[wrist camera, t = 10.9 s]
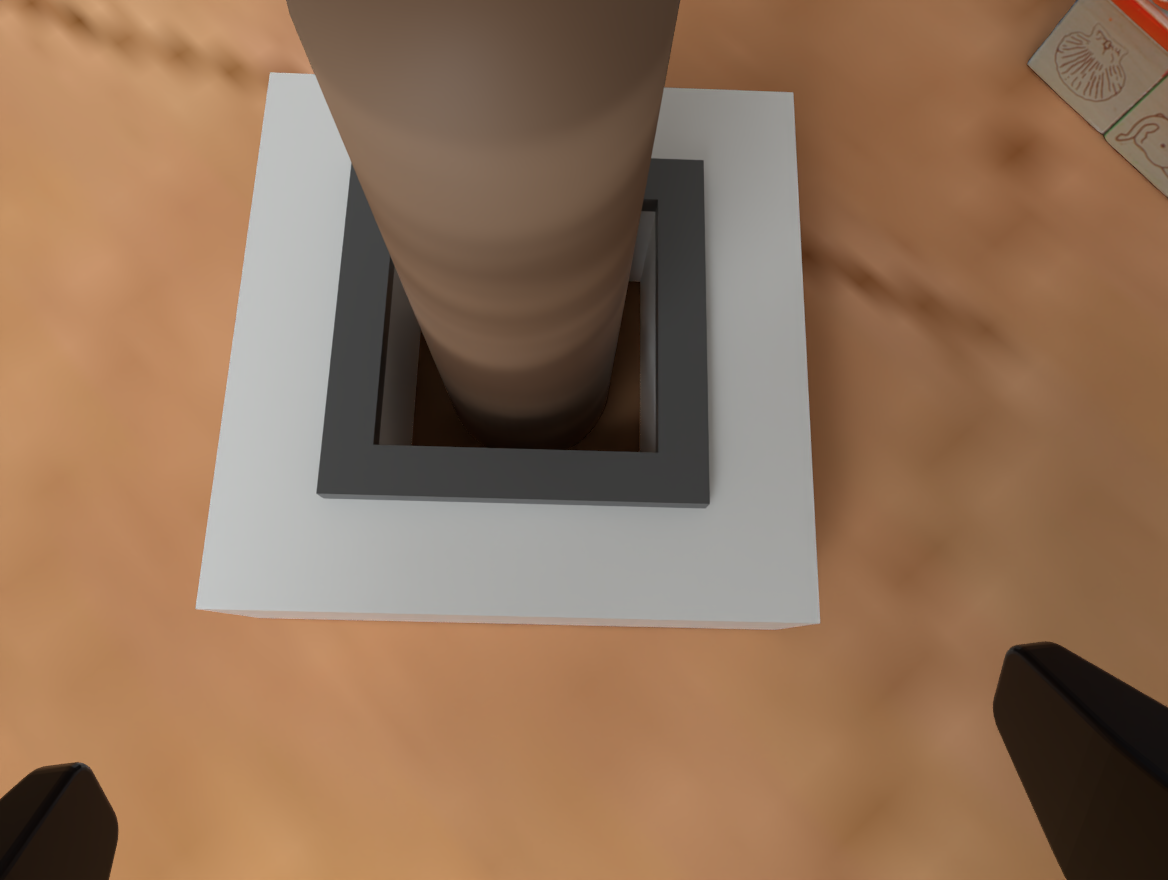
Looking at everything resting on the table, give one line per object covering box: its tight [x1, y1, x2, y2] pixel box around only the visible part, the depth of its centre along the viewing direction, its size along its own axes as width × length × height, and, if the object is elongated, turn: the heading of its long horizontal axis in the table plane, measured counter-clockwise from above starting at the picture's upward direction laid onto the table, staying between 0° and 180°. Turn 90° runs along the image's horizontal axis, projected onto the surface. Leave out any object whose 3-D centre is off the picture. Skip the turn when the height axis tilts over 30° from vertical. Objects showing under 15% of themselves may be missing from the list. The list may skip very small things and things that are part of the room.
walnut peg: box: [286, 0, 680, 450], centre depth 15 cm, size 4×4×13 cm
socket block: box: [196, 73, 820, 630], centre depth 19 cm, size 12×12×4 cm
